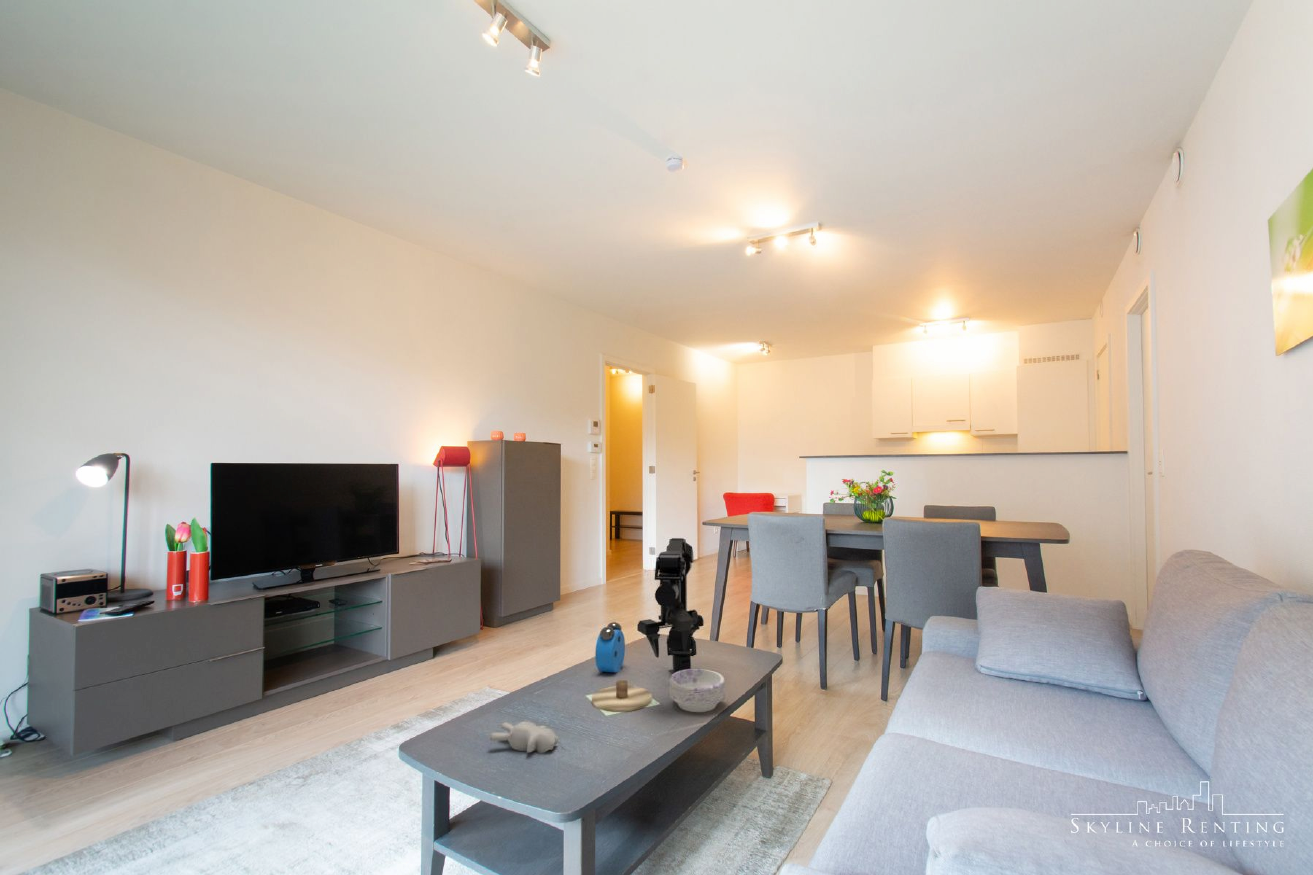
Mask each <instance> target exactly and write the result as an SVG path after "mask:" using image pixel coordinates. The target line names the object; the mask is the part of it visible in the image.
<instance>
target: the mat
mask: <svg viewBox="0 0 1313 875" xmlns="http://www.w3.org/2000/svg"><path fill="white" fill-rule="evenodd" d="M635 686H636V687H638V686H637V685H635ZM593 694H594V693H591V694H586V695H585V697H586V698H587V699H588V700H589V701H590V702H591V703H592V696H593ZM659 705H661V703H660V702H658V701H657V700H655V699H654V698H653V697H652V702H651V703H650V704H649V705H648V706H646V707H644V708H643V709H645V708H650V707H654V706H659ZM599 710H600V711H601V712H602V713H603V714H604V715H605V716H606V717H608V716H612V715H616V714H618V715H619V714H622V713H624V712H610V711H605V710H601V709H599Z"/></svg>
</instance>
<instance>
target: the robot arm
mask: <svg viewBox="0 0 1313 875" xmlns="http://www.w3.org/2000/svg"><path fill="white" fill-rule="evenodd" d="M655 559H656V560H655V569H654V581H659V585H658V587H657V589H656V590H655V591H654V592H655V593H654V599H655V601H656V602H657V603H658V604H657V605H659V606H660V615H658V620H660V621H655V620H653V619H651V618H649V619H642V620H639V621H638V622H637V626H636V627H637V628H636V629H637V631H638V632H640V633H641V634H642V635H644V636H646V638H647V641H648V642H649V645H650V647H651V649H652V652H653V654H654V656H655V657H656V659H657V658H659V656H660V646H659V645H660V644H659V643H660V641H659V639H660V637H661V634H660V633H659V632H660V629H666V628H670V629H669V631H668V635H667V637H666V653H667V656H672V658H671V659H672V669H670V670H669V669H668V673H669V672H670V673H671V675H672V674H674V673H676V672H678V671H682V670H687V669H692V663H691V662H692V660H691V657H695V656H697V642H696V640H695V636H694V633H695V632H697V631H698V630H700V627H704V623H705V622H704V617H703V615H700V614H699V613H698V611H697V610H696V609H690V610H688V586H687V584H688V574H689V572H690V571H691V569H692V564H693V563H694V549H693V546H692V545H690V544H689V543H688V542H687V540H686V539H685V538H683V537H675V538H674V537H673V538H672V537H671V538H670V539H669V541H668V544H667V546H666V551H661V552H660V553H659V554H658V557H656V558H655Z"/></svg>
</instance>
